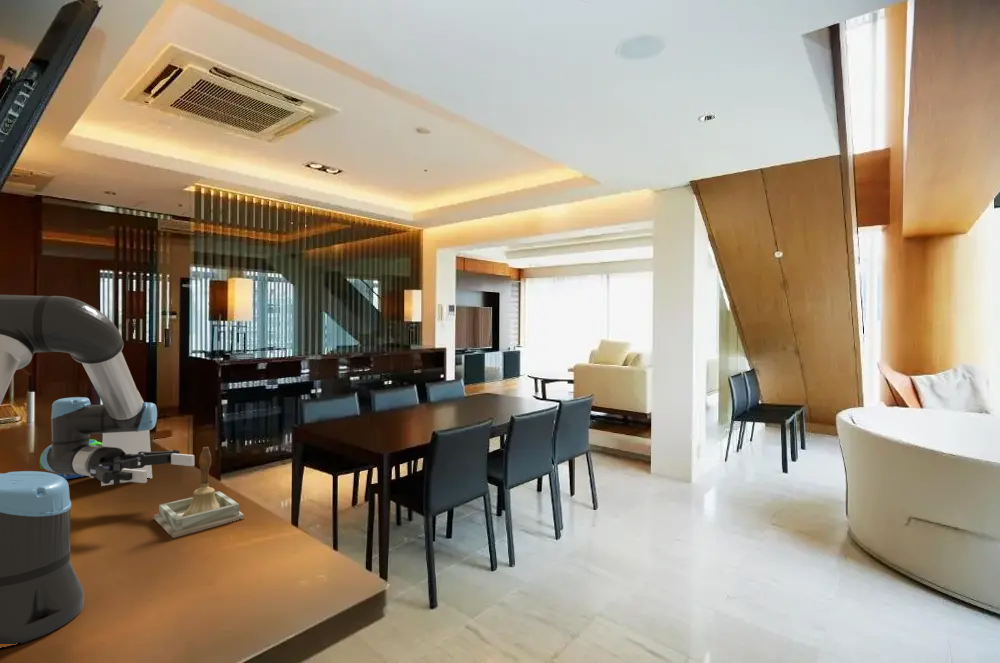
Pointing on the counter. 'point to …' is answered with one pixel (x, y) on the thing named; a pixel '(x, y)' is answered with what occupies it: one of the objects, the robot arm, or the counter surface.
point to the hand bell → (203, 488)
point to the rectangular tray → (196, 515)
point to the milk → (129, 445)
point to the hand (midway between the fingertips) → (170, 468)
